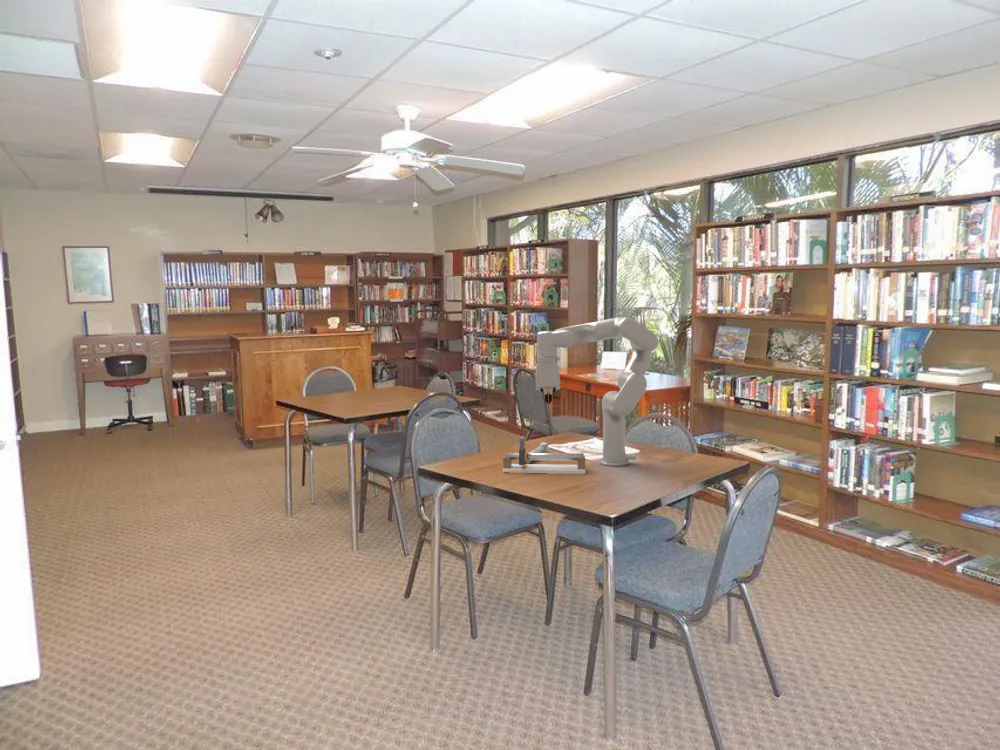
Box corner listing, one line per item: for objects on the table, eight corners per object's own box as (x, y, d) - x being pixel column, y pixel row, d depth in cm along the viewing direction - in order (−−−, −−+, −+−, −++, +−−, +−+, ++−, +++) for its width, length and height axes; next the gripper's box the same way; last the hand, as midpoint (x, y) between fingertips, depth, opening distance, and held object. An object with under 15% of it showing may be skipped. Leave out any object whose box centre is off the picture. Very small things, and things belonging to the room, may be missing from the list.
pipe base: (584, 468, 298) (584, 454, 298) (585, 474, 288) (585, 459, 288) (504, 467, 301) (504, 453, 301) (502, 473, 291) (502, 459, 291)
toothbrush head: (516, 457, 304) (541, 438, 326) (518, 471, 306) (541, 452, 327) (527, 458, 302) (551, 439, 323) (528, 472, 304) (552, 453, 325)
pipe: (583, 459, 294) (583, 452, 294) (583, 461, 291) (583, 454, 291) (505, 459, 297) (505, 451, 297) (504, 460, 294) (504, 453, 294)
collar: (525, 461, 298) (525, 436, 297) (524, 465, 292) (524, 439, 291) (519, 461, 298) (519, 436, 297) (519, 465, 293) (518, 439, 291)
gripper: (564, 358, 299) (565, 401, 301) (529, 360, 300) (531, 402, 302) (564, 360, 291) (566, 404, 293) (528, 362, 292) (530, 405, 294)
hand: (548, 403), depth 298 cm, fingers closed
